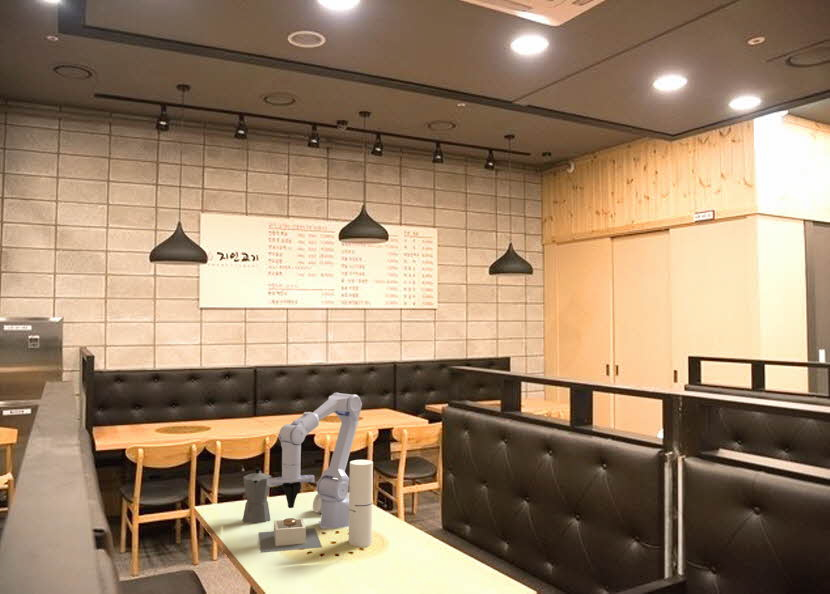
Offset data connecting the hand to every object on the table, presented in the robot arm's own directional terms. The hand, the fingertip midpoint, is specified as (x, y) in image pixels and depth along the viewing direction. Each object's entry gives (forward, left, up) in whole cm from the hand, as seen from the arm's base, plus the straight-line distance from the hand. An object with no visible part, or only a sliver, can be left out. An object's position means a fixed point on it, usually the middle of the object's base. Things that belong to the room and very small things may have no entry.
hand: (290, 507), depth 202 cm
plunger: (0, +1, -9) cm, 9 cm away
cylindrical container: (-21, +8, -11) cm, 25 cm away
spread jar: (-17, -27, -11) cm, 34 cm away
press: (0, +1, -10) cm, 10 cm away
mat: (0, +1, -10) cm, 10 cm away
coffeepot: (+9, -23, -11) cm, 27 cm away
